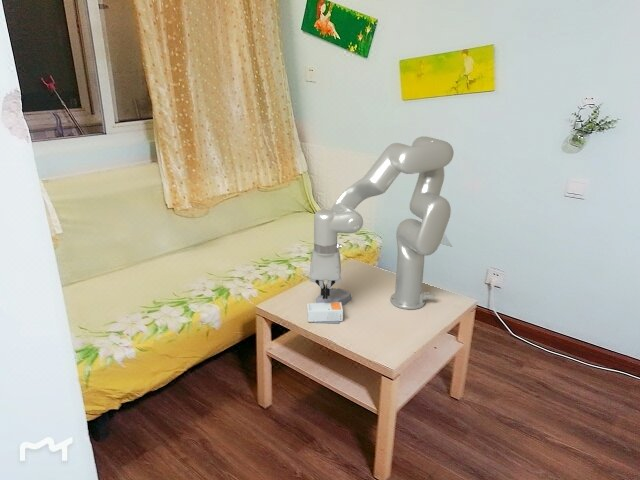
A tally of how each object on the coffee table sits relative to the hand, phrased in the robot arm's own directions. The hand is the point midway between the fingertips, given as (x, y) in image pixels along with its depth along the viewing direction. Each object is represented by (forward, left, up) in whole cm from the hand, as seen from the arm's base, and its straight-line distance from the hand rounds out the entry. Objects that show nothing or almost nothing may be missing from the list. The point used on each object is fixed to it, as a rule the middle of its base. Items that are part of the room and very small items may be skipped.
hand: (325, 297), depth 159 cm
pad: (-1, 0, -8) cm, 8 cm away
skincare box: (-6, 0, -5) cm, 8 cm away
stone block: (-2, -11, -8) cm, 14 cm away
